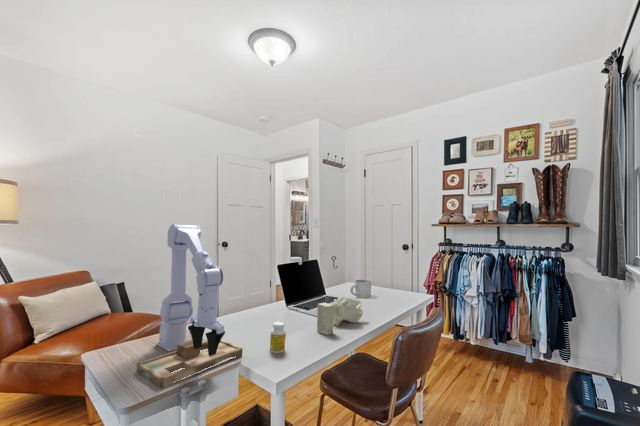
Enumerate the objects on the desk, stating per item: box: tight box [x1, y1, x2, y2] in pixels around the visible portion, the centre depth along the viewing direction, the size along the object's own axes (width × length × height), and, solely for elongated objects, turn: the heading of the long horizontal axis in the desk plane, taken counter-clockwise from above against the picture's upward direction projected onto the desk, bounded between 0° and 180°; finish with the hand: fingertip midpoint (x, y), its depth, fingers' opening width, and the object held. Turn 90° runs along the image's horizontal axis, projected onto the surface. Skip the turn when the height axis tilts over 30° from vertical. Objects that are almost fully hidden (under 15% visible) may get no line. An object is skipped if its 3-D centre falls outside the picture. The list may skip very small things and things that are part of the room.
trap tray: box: [135, 339, 244, 389], centre depth 97 cm, size 14×28×3 cm, turn 145°
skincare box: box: [316, 302, 334, 336], centre depth 133 cm, size 6×4×12 cm
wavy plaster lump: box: [331, 295, 364, 327], centre depth 148 cm, size 18×13×16 cm
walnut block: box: [176, 339, 200, 359], centre depth 99 cm, size 5×5×4 cm
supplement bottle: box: [269, 321, 287, 354], centre depth 111 cm, size 5×5×10 cm
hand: (204, 351), depth 94 cm, fingers open, 7 cm apart
